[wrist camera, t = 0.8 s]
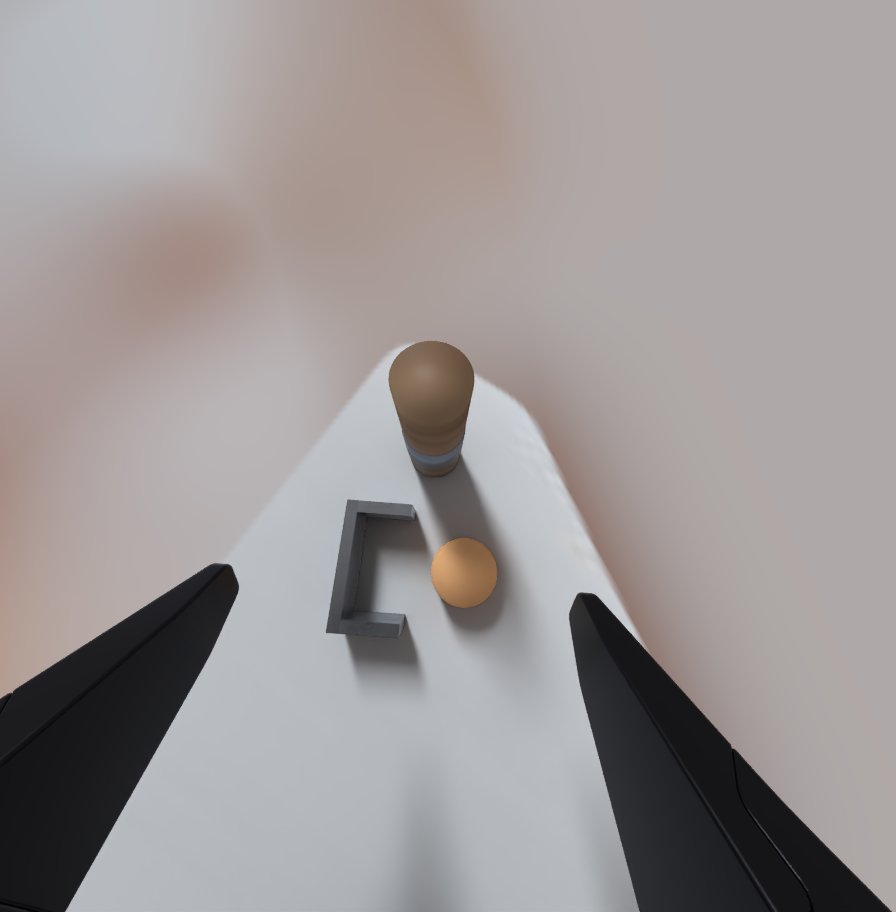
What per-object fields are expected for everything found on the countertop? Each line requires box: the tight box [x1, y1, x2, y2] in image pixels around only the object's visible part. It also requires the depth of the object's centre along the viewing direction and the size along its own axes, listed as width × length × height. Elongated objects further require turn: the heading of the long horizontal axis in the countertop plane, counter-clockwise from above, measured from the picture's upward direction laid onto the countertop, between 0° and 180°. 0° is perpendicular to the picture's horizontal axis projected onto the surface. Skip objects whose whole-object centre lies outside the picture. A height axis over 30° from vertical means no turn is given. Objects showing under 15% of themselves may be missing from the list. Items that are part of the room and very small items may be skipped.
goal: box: [326, 500, 416, 638], centre depth 21 cm, size 7×4×3 cm, turn 176°
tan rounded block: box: [431, 538, 497, 608], centre depth 21 cm, size 4×4×2 cm
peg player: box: [389, 341, 474, 477], centre depth 19 cm, size 4×4×11 cm
